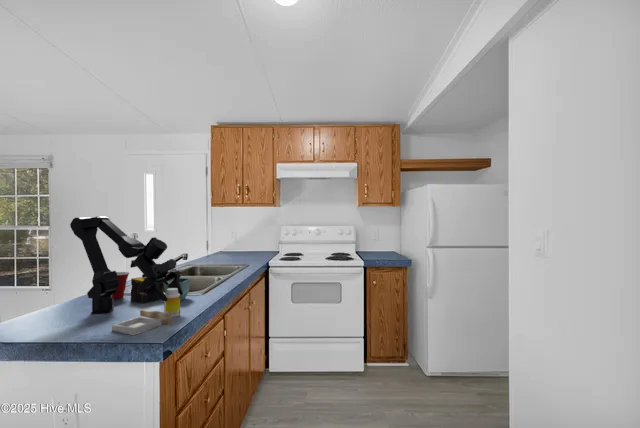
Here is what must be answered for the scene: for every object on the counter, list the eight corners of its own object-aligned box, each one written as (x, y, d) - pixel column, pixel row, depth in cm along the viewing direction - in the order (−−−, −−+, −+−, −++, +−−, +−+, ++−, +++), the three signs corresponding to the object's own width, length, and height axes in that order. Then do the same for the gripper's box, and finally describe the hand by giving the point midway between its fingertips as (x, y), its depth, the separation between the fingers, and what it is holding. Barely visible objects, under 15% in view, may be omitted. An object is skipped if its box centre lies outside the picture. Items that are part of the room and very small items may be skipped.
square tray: (111, 331, 111) (111, 325, 111) (140, 321, 121) (140, 316, 121) (133, 335, 107) (133, 329, 107) (161, 325, 116) (161, 319, 116)
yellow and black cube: (130, 300, 150) (129, 278, 150) (152, 296, 159) (152, 275, 159) (141, 304, 144) (141, 281, 144) (164, 299, 153) (164, 277, 153)
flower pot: (183, 302, 146) (182, 282, 146) (163, 302, 147) (162, 282, 147) (191, 297, 155) (191, 278, 155) (172, 297, 155) (172, 278, 155)
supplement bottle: (182, 315, 127) (182, 288, 127) (167, 319, 123) (167, 291, 123) (177, 312, 131) (176, 286, 131) (162, 315, 127) (161, 288, 127)
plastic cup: (135, 296, 158) (135, 270, 158) (114, 302, 148) (114, 274, 148) (118, 294, 161) (117, 269, 161) (96, 300, 151) (96, 273, 151)
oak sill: (140, 319, 123) (140, 310, 123) (143, 318, 124) (143, 309, 124) (168, 324, 117) (168, 314, 117) (171, 323, 118) (171, 313, 118)
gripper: (144, 256, 119) (172, 288, 117) (177, 250, 137) (201, 278, 135) (125, 277, 121) (152, 309, 118) (160, 269, 139) (184, 297, 137)
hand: (174, 297), depth 127 cm, fingers open, 9 cm apart
